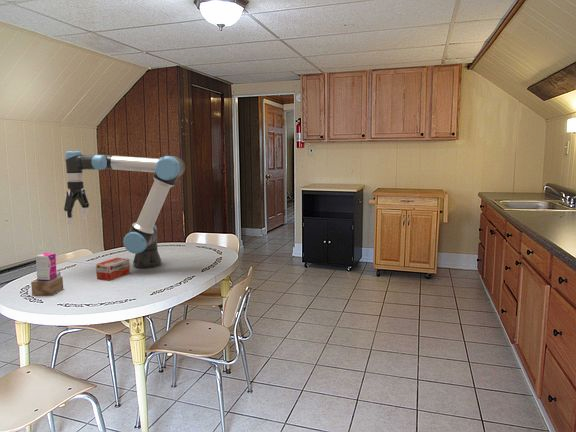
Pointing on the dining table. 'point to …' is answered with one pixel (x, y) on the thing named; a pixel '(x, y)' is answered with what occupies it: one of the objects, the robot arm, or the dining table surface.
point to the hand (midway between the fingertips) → (78, 221)
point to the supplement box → (46, 266)
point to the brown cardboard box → (47, 286)
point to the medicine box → (112, 268)
